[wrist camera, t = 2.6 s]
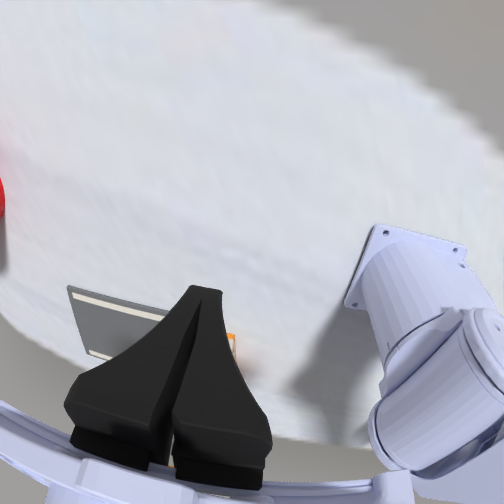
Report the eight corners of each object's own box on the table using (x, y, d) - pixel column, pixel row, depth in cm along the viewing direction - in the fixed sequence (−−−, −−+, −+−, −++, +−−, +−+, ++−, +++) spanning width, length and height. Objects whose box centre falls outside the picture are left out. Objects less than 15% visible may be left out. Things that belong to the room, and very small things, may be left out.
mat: (184, 314, 28) (182, 317, 27) (184, 378, 33) (183, 382, 33) (68, 285, 27) (66, 288, 27) (88, 351, 33) (86, 354, 33)
